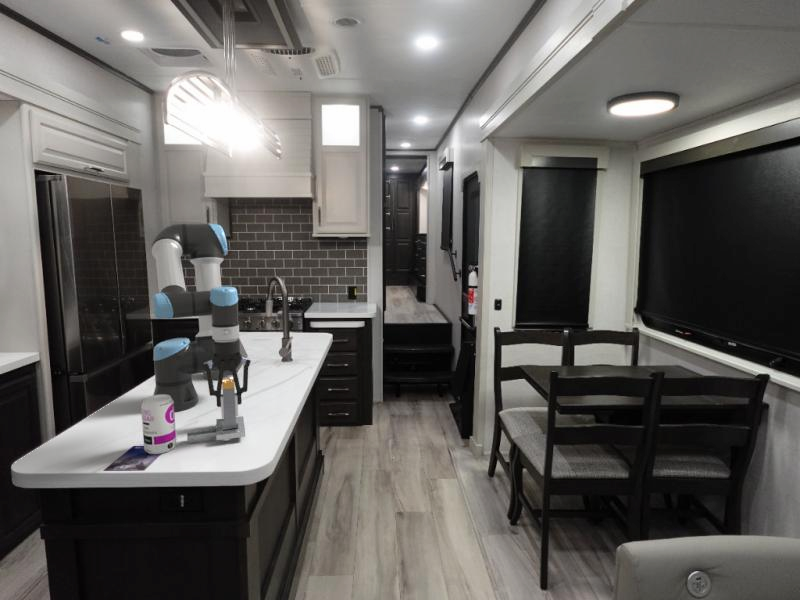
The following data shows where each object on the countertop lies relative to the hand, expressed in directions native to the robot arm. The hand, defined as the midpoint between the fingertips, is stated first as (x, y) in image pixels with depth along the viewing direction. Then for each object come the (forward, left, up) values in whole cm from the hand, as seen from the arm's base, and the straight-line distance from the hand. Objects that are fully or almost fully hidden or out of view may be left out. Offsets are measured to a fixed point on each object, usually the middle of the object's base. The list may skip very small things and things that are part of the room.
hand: (229, 415), depth 145 cm
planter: (-2, +63, -7) cm, 64 cm away
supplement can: (-19, -2, -7) cm, 20 cm away
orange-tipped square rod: (0, 0, -3) cm, 3 cm away
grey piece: (-4, +4, -7) cm, 9 cm away
